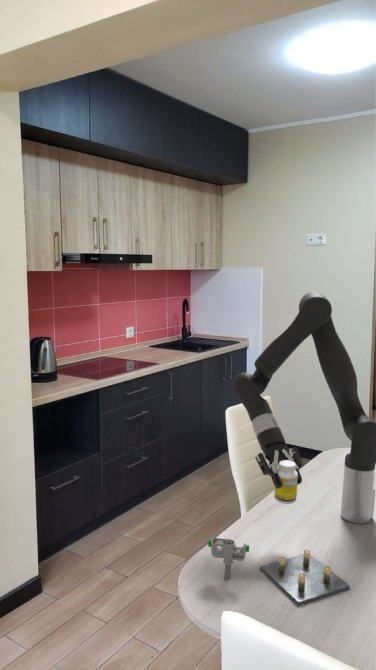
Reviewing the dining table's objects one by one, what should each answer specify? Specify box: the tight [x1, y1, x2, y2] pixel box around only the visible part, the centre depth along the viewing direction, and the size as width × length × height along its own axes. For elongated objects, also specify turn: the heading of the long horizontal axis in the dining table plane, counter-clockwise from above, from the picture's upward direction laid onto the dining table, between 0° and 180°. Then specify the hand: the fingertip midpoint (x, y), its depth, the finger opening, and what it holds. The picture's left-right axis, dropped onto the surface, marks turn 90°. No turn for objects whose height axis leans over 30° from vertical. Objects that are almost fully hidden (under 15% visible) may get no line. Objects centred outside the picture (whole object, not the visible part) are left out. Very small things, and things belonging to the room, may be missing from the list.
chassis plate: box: [259, 549, 351, 607], centre depth 134 cm, size 16×16×4 cm
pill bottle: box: [274, 460, 298, 505], centre depth 149 cm, size 6×6×11 cm
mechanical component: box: [207, 536, 250, 582], centre depth 132 cm, size 3×10×10 cm, turn 78°
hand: (289, 485), depth 147 cm, fingers closed on pill bottle, 6 cm apart
